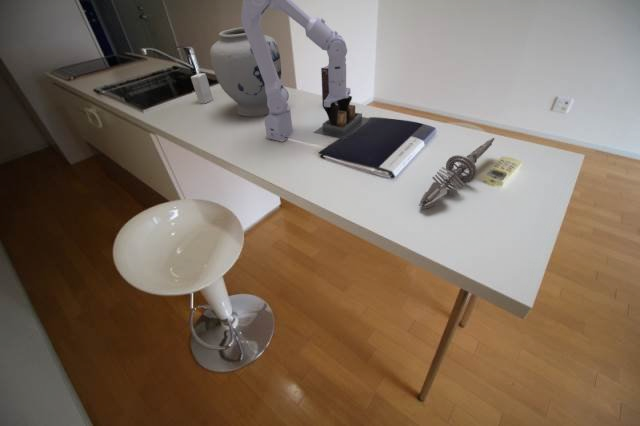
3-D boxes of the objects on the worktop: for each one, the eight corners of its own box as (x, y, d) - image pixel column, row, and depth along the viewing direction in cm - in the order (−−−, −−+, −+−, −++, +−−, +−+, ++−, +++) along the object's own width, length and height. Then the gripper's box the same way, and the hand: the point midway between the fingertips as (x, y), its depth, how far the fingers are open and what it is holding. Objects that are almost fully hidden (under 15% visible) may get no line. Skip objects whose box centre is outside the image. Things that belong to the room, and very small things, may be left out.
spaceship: (515, 137, 76) (490, 119, 78) (444, 208, 61) (415, 184, 64) (495, 156, 83) (473, 140, 85) (427, 225, 68) (402, 203, 70)
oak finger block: (341, 131, 101) (341, 115, 97) (329, 129, 103) (328, 112, 100) (346, 127, 104) (346, 111, 100) (335, 125, 106) (334, 109, 102)
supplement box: (331, 110, 120) (330, 69, 110) (322, 108, 123) (320, 68, 113) (343, 103, 125) (342, 64, 115) (333, 102, 128) (332, 62, 118)
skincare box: (206, 99, 142) (198, 72, 134) (214, 99, 141) (206, 73, 133) (198, 103, 138) (189, 76, 130) (206, 104, 136) (197, 76, 128)
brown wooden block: (350, 125, 105) (350, 109, 101) (338, 123, 107) (337, 107, 103) (355, 121, 107) (355, 105, 104) (343, 119, 110) (343, 103, 106)
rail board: (345, 142, 97) (345, 132, 95) (313, 135, 103) (312, 125, 101) (370, 120, 109) (371, 111, 107) (340, 115, 115) (340, 106, 113)
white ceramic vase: (277, 122, 114) (263, 34, 95) (215, 121, 118) (190, 37, 99) (292, 99, 134) (283, 22, 115) (239, 99, 139) (221, 26, 119)
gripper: (336, 87, 87) (337, 130, 95) (358, 75, 96) (357, 115, 104) (317, 85, 90) (319, 127, 98) (340, 73, 99) (340, 112, 107)
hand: (338, 120), depth 102 cm, fingers open, 6 cm apart
